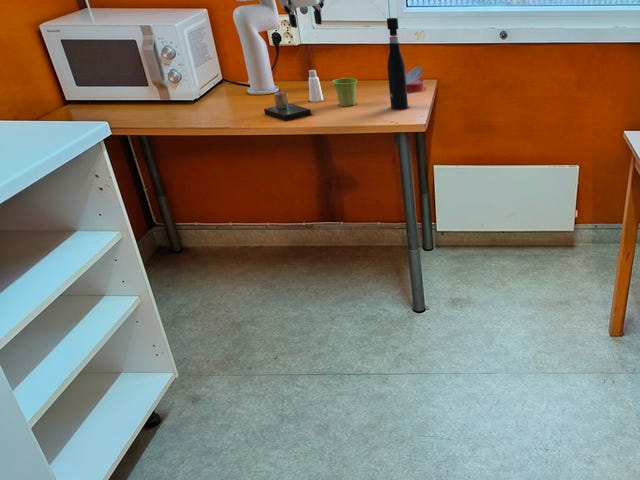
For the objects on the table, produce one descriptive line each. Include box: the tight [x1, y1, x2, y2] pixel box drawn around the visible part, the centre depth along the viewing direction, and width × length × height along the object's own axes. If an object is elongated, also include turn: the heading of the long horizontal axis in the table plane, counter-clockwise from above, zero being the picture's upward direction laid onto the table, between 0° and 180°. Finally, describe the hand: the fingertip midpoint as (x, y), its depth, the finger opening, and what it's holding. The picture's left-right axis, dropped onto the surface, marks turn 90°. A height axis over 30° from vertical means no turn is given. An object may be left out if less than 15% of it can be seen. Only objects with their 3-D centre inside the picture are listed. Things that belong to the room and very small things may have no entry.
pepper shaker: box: [308, 69, 325, 103], centre depth 249 cm, size 5×5×11 cm
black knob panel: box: [263, 102, 312, 122], centre depth 234 cm, size 14×11×2 cm
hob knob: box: [273, 91, 289, 109], centre depth 234 cm, size 4×4×5 cm
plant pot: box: [331, 77, 358, 107], centre depth 243 cm, size 9×9×9 cm
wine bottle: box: [386, 17, 409, 111], centre depth 232 cm, size 6×6×30 cm
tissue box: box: [405, 66, 425, 93], centre depth 263 cm, size 11×10×10 cm
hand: (306, 25), depth 223 cm, fingers open, 9 cm apart
